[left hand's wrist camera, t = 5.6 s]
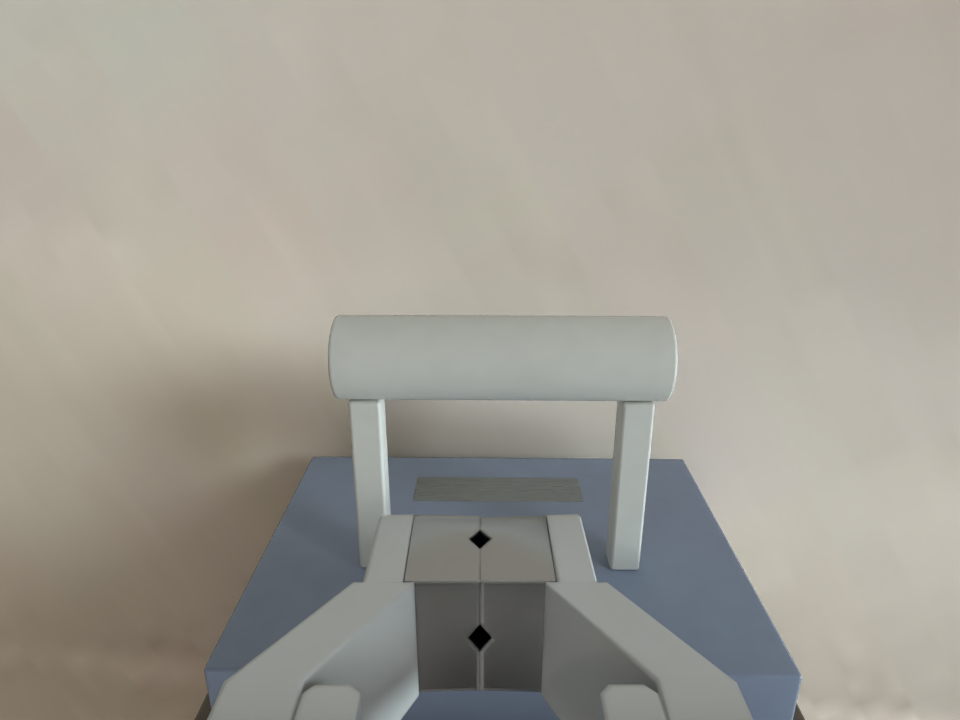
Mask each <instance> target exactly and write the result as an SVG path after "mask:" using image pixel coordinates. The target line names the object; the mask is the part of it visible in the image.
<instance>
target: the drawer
mask: <svg viewBox="0 0 960 720" xmlns="http://www.w3.org/2000/svg"><path fill="white" fill-rule="evenodd" d="M677 365H678V351H677V340H676V334H675V330H674V327H673V324H672V322H671V320H670V319H669V318H667V317H665V316H465V315H339V316H337V317H335V319H334V321H333V324H332V327H331V331H330V336H329V345H328V371H329V379H330V384H331V388H332V391H333V394H334V396H335V397H336V398H338V399H350V401H349V418H350V431H351V445H352V457H313V458H312V460H311V462H310V464H309V466H308V468H307V470H306V472H305V474H304V476H303V478H302V480H301V481H300V483H299V485H298V487H297V489H296V491H295V493H294V495H293V497H292V499H291V501H290V503H289V505H288V507H287V509H286V511H285V513H284V515H283V517H282V518H281V520H280V522H279V524H278V526H277V528H276V530H275V532H274V534H273V536H272V538H271V540H270V542H269V544H268V546H267V548H266V550H265V552H264V554H263V556H262V557H261V559H260V561H259V563H258V565H257V567H256V569H255V571H254V573H253V575H252V577H251V579H250V581H249V583H248V585H247V587H246V589H245V591H244V593H243V595H242V596H241V598H240V600H239V602H238V604H237V606H236V608H235V610H234V612H233V614H232V616H231V618H230V620H229V622H228V624H227V626H226V628H225V630H224V632H223V634H222V635H221V637H220V639H219V641H218V643H217V645H216V647H215V649H214V651H213V653H212V655H211V657H210V659H209V661H208V663H207V665H206V667H205V669H204V672H205V677H206V683H207V688H208V694H209V699H210V705H211V709H212V707H213V705H214V703H215V701H216V698H217V696H218V694H219V692H220V690H221V687H222V685H223V683H224V681H225V680H227V679H228V678H229V677H231V676H232V675H233V674H234V673H236V672H237V671H238V670H240V669H241V668H242V667H244V666H245V665H246V664H247V663H249V662H250V661H251V660H253V659H254V658H255V657H257V656H258V655H259V654H260V653H262V652H263V651H264V650H266V649H267V648H268V647H270V646H271V645H272V644H274V643H275V642H276V641H277V640H279V639H280V638H281V637H283V636H284V635H285V634H287V633H288V632H289V631H290V630H292V629H293V628H294V627H296V626H297V625H298V624H300V623H301V622H302V621H303V620H305V619H306V618H307V617H309V616H310V615H311V614H313V613H314V612H315V611H316V610H318V609H319V608H320V607H322V606H323V605H324V604H326V603H327V602H328V601H329V600H331V599H332V598H333V597H335V596H336V595H337V594H339V593H340V592H341V591H342V590H344V589H345V588H346V587H348V586H349V585H350V584H352V583H353V582H363V579H364V575H365V571H366V567H367V563H368V559H369V555H370V551H371V547H372V543H373V539H374V535H375V531H376V527H377V523H378V519H379V518H380V517H381V516H382V515H398V514H413V515H414V516H415V515H456V516H480V517H503V516H545V515H564V514H578V515H579V516H580V517H581V520H582V524H583V528H584V532H585V536H586V540H587V544H588V548H589V552H590V556H591V560H592V564H593V568H594V571H595V575H596V579H597V582H607V583H608V584H610V585H611V586H612V587H614V588H615V589H616V590H618V591H619V592H620V593H621V594H623V595H624V596H625V597H627V598H628V599H629V600H630V601H632V602H633V603H634V604H636V605H637V606H638V607H640V608H641V609H642V610H643V611H645V612H646V613H647V614H649V615H650V616H651V617H652V618H654V619H655V620H656V621H658V622H659V623H660V624H662V625H663V626H664V627H665V628H667V629H668V630H669V631H671V632H672V633H673V634H675V635H676V636H677V637H678V638H680V639H681V640H682V641H684V642H685V643H686V644H687V645H689V646H690V647H691V648H693V649H694V650H695V651H697V652H698V653H699V654H700V655H702V656H703V657H704V658H706V659H707V660H708V661H709V662H711V663H712V664H713V665H715V666H716V667H717V668H719V669H720V670H721V671H722V672H724V673H725V674H726V675H728V676H729V677H730V678H731V679H733V680H734V681H735V682H737V684H738V687H739V689H740V691H741V693H742V695H743V698H744V700H745V702H746V704H747V707H748V709H749V711H750V713H751V716H752V718H753V720H793V716H794V712H795V707H796V702H797V698H798V693H799V688H800V683H801V679H802V676H801V674H800V672H799V670H798V668H797V666H796V665H795V663H794V661H793V659H792V657H791V656H790V654H789V652H788V650H787V648H786V646H785V645H784V643H783V641H782V639H781V637H780V636H779V634H778V632H777V630H776V628H775V626H774V625H773V623H772V621H771V619H770V617H769V616H768V614H767V612H766V610H765V608H764V606H763V605H762V603H761V601H760V599H759V597H758V596H757V594H756V592H755V590H754V588H753V586H752V585H751V583H750V581H749V579H748V577H747V575H746V574H745V572H744V570H743V568H742V566H741V565H740V563H739V561H738V559H737V557H736V555H735V554H734V552H733V550H732V548H731V546H730V545H729V543H728V541H727V539H726V537H725V535H724V534H723V532H722V530H721V528H720V526H719V525H718V523H717V521H716V519H715V517H714V515H713V514H712V512H711V510H710V508H709V506H708V505H707V503H706V501H705V499H704V497H703V495H702V494H701V492H700V490H699V488H698V486H697V484H696V483H695V481H694V479H693V477H692V475H691V474H690V472H689V470H688V468H687V466H686V464H685V463H684V461H683V460H681V459H650V450H651V440H652V430H653V420H654V410H655V405H654V403H653V401H666V400H668V399H669V398H670V397H671V395H672V392H673V389H674V386H675V382H676V376H677ZM385 399H399V400H566V401H617V414H616V427H615V440H614V453H613V459H550V458H411V457H388V454H387V436H386V417H385ZM401 720H559V718H558V717H557V716H556V714H555V713H554V712H553V710H552V709H551V708H550V706H549V705H548V704H547V702H546V701H545V700H544V698H543V697H542V696H541V692H518V691H483V690H475V691H441V692H419V696H418V698H417V699H416V700H415V702H414V703H413V704H412V706H411V707H410V708H409V710H408V711H407V712H406V714H405V715H404V716H403V718H402V719H401Z"/></svg>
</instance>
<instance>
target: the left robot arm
mask: <svg viewBox="0 0 960 720" xmlns="http://www.w3.org/2000/svg"><path fill="white" fill-rule="evenodd" d="M475 690H483V691H518V692H541V696H542V697H543V698H544V700H545V701H546V702H547V704H548V705H549V706H550V708H551V709H552V710H553V712H554V713H555V714H556V716H557V717H558V718H559V720H753V718H752V716H751V713H750V711H749V709H748V707H747V704H746V702H745V700H744V698H743V695H742V693H741V691H740V689H739V687H738V684H737V682H735V681H734V680H733V679H731V678H730V677H729V676H728V675H726V674H725V673H724V672H722V671H721V670H720V669H719V668H717V667H716V666H715V665H713V664H712V663H711V662H709V661H708V660H707V659H706V658H704V657H703V656H702V655H700V654H699V653H698V652H697V651H695V650H694V649H693V648H691V647H690V646H689V645H687V644H686V643H685V642H684V641H682V640H681V639H680V638H678V637H677V636H676V635H675V634H673V633H672V632H671V631H669V630H668V629H667V628H665V627H664V626H663V625H662V624H660V623H659V622H658V621H656V620H655V619H654V618H652V617H651V616H650V615H649V614H647V613H646V612H645V611H643V610H642V609H641V608H640V607H638V606H637V605H636V604H634V603H633V602H632V601H630V600H629V599H628V598H627V597H625V596H624V595H623V594H621V593H620V592H619V591H618V590H616V589H615V588H614V587H612V586H611V585H610V584H608V583H607V582H597V579H596V575H595V571H594V568H593V564H592V560H591V556H590V552H589V548H588V544H587V540H586V536H585V532H584V528H583V524H582V520H581V517H580V516H579V515H578V514H564V515H545V516H503V517H480V516H456V515H415V516H414V515H413V514H398V515H382V516H381V517H380V518H379V519H378V523H377V527H376V531H375V535H374V539H373V543H372V547H371V551H370V555H369V559H368V563H367V567H366V571H365V575H364V579H363V582H353V583H352V584H350V585H349V586H348V587H346V588H345V589H344V590H342V591H341V592H340V593H339V594H337V595H336V596H335V597H333V598H332V599H331V600H329V601H328V602H327V603H326V604H324V605H323V606H322V607H320V608H319V609H318V610H316V611H315V612H314V613H313V614H311V615H310V616H309V617H307V618H306V619H305V620H303V621H302V622H301V623H300V624H298V625H297V626H296V627H294V628H293V629H292V630H290V631H289V632H288V633H287V634H285V635H284V636H283V637H281V638H280V639H279V640H277V641H276V642H275V643H274V644H272V645H271V646H270V647H268V648H267V649H266V650H264V651H263V652H262V653H260V654H259V655H258V656H257V657H255V658H254V659H253V660H251V661H250V662H249V663H247V664H246V665H245V666H244V667H242V668H241V669H240V670H238V671H237V672H236V673H234V674H233V675H232V676H231V677H229V678H228V679H227V680H225V681H224V683H223V685H222V687H221V690H220V692H219V694H218V696H217V698H216V701H215V703H214V705H213V707H212V709H211V712H210V714H209V716H208V718H207V720H401V719H402V718H403V716H404V715H405V714H406V712H407V711H408V710H409V708H410V707H411V706H412V704H413V703H414V702H415V700H416V699H417V698H418V696H419V692H441V691H475Z"/></svg>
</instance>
